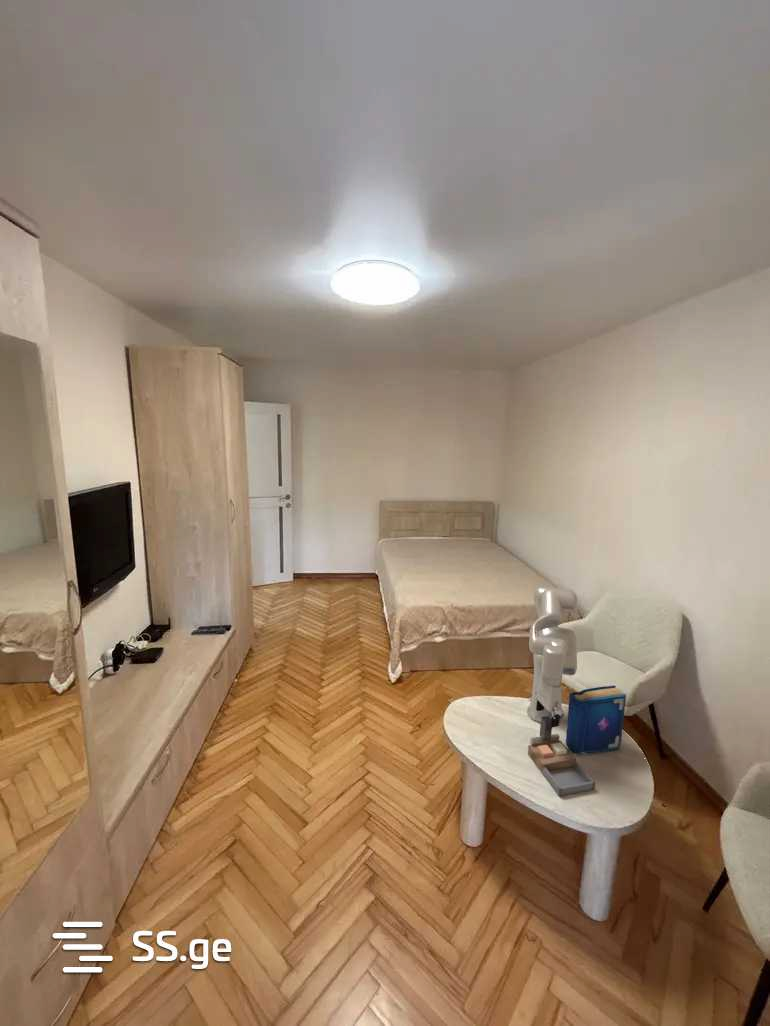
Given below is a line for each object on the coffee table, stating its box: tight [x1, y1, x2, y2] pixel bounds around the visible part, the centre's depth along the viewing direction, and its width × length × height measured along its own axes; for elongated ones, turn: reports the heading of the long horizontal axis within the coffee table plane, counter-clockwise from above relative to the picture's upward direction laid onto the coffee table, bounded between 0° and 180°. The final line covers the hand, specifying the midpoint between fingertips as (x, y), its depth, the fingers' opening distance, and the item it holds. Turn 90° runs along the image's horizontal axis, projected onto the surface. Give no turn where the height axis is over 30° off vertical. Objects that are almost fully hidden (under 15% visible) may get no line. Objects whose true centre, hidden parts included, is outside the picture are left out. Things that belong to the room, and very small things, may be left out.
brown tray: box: [527, 739, 578, 775], centre depth 161 cm, size 10×14×4 cm
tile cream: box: [551, 743, 567, 755], centre depth 162 cm, size 4×4×2 cm
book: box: [565, 685, 627, 755], centre depth 167 cm, size 22×7×25 cm, turn 101°
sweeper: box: [529, 716, 561, 745], centre depth 165 cm, size 3×12×10 cm, turn 103°
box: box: [542, 761, 596, 797], centre depth 152 cm, size 10×14×3 cm
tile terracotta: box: [537, 745, 553, 757], centre depth 160 cm, size 4×4×2 cm
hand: (547, 718), depth 163 cm, fingers open, 9 cm apart
